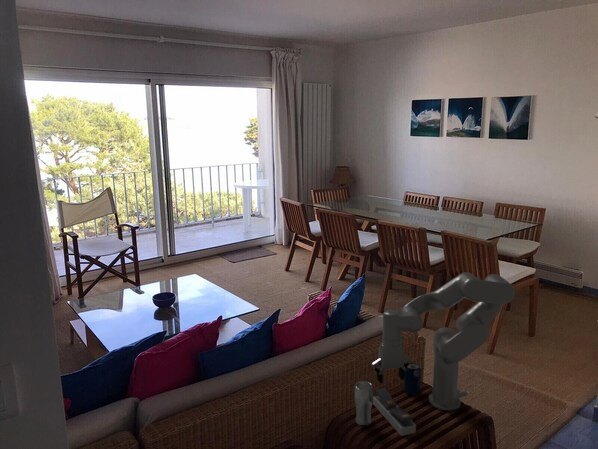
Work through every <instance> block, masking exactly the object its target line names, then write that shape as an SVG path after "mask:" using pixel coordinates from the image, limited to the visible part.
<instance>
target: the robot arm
mask: <svg viewBox="0 0 598 449" xmlns="http://www.w3.org/2000/svg"><path fill="white" fill-rule="evenodd" d="M515 297H516V289H515V287H514V285H512V284H511V283H510V282H509V281H508V280H507V279H505V278H504V277H503V276H501V275H499V274H497V273H491V274H489V275H487V276H486V277H485V278H484V279H479V278H478V277H477V276H476V275H474V274H473V273H471V272H468V271H466V272H465V271H464V272H462V273H460V274H458V275H457V276H455V277H454V278H452V279H450V280H449V281H448V282H446V283H445V284H443V285H442V286H440V287H439V288H437V289H436V290H434V291H430V292H428V293H425V294H422V295H420V296H417V297H415V298H414V299H413V300H411V301H409V302H408V303H407V304H405V305H403V307H402V308H401V310H400V311H399V310H396V309H388V310H387V309H386V310H385V311H384V312H383V315H382V341H381V343H379V348H378V355H377V360H375V361H373V362H372V363H371V366H372V368H373V370H374V371H375V372H376V379H377V381H378V382H379V383H380V385H381V384H383V382H384V375H383V372H384V371H386V370H392V369H397V368H398V377H399V378H400V379H401V380H403V381H404V376H405V370H406V368H407V366H408V365H409V363H411V359H412V358H410V357H409V356H406V355H405V350H404V344H403V342H402V341H403V340H405V337H404V336H403V335H402V334H403V332H407V333H418V332H420V331H421V330H422V329H423V326H424V321H423V318H422V317H421V316H423V315H424V314H426V313H427V312H431V311H433V310H449V309H451V308H452V307H454V306H455V305H456V304H458V303H460V302H461V301H463V300H464V299H467V300H469V301H472V302H476V303H475V304H474V305H473V306H471V307H470V308H469V309H467V310H466V311H465V312H463V313H462V314H460V316H459V317H457V319H456V321H455V327H456V329H457V330H458V332H456V331H455V330H454V329H452V328H450V327H441V328H438V329H437V330H436V331H435V332H434V335H433V337H432V338H433V339H432V342H433V344H432V345H433V373H432V374H433V379H432V393H430V394H429V396H428V403H429V404H430V405H431V406H432V407H434V408H435V409H438V410H442V411H454V410H458V409H460V407H461V404H462V402H461V398H462V397H463V398H464V397H467V396H468V393H467V391H466V390H464V391H461V390H460V389H458V382H459V380H458V378H459V362H461V361H463V360H464V359H466V358H467V357H469V356H471V355H472V353H473V352H475V351H477V350H478V349H479V348H480V347H482V346H483V345H484V344H485V343H486V341H487V340H488V338H489V329H488V326H487V325H488V324H490V322H492V321H493V320H494V319H496V317H497V316H498V315H499V313H500V312H501V310H502V307H503V305H506V304H508V303H510V302H512V301H513V300H514V299H515ZM377 366H378V367H377Z"/></svg>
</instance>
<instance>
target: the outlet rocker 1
mask: <svg viewBox="0 0 598 449" xmlns="http://www.w3.org/2000/svg"><path fill="white" fill-rule="evenodd" d="M375 393H376V395H377V396H379V398H380V399H381V400H382V402H383V403H384V405H385V406H386V408H387V409H388V408H393V407H396V406H398V404H397V402H396V401H395V400H394V399H393V397H392V396H391V394H390V393H389V391H388V390H387V389H386V388H385V387H384V388H378V389H375Z"/></svg>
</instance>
